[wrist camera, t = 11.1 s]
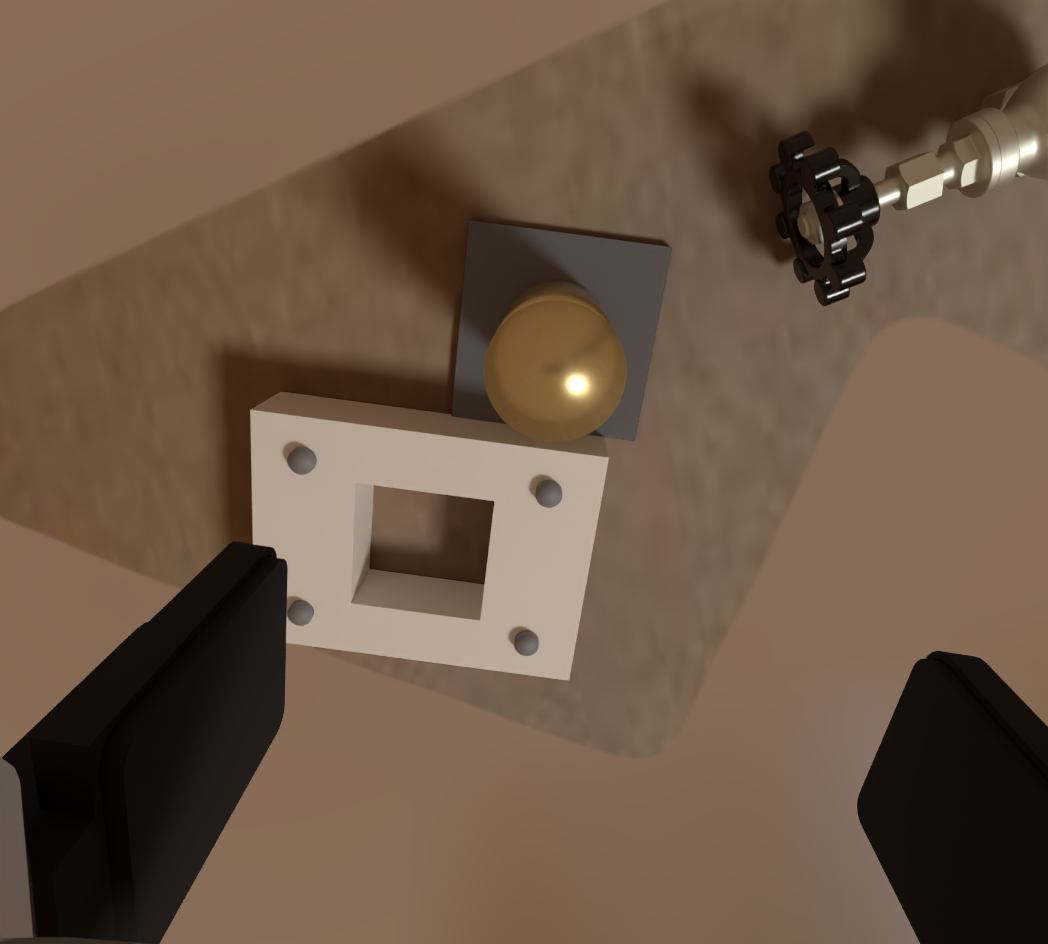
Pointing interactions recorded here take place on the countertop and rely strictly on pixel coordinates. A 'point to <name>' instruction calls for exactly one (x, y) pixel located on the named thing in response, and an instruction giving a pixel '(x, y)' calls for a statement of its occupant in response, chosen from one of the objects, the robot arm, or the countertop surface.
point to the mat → (591, 262)
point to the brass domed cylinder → (555, 364)
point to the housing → (436, 467)
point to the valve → (903, 182)
